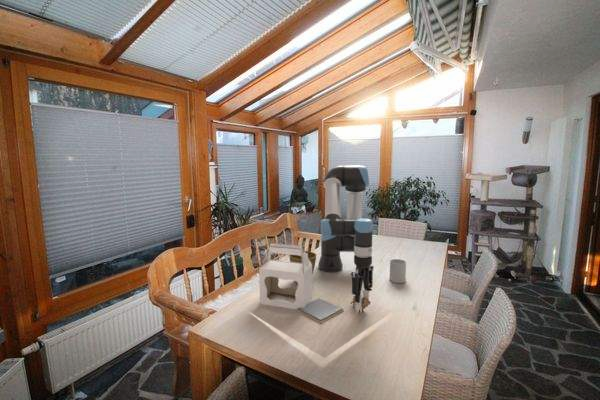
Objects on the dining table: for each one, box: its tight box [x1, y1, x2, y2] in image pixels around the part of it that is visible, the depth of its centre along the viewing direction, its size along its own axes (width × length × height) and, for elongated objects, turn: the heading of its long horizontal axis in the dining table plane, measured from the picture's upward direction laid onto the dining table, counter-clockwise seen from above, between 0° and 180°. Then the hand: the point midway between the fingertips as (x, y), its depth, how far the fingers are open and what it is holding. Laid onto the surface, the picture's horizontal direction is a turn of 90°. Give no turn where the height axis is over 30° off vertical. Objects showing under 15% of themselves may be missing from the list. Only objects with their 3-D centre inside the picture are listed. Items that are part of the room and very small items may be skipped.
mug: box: [389, 258, 407, 284], centre depth 163 cm, size 12×8×11 cm
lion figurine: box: [350, 295, 371, 314], centre depth 128 cm, size 12×4×7 cm, turn 28°
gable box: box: [258, 242, 313, 310], centre depth 136 cm, size 22×13×28 cm, turn 71°
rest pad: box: [295, 298, 345, 324], centre depth 127 cm, size 15×15×1 cm
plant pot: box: [288, 250, 317, 284], centre depth 158 cm, size 15×15×16 cm
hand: (362, 306), depth 126 cm, fingers open, 5 cm apart
